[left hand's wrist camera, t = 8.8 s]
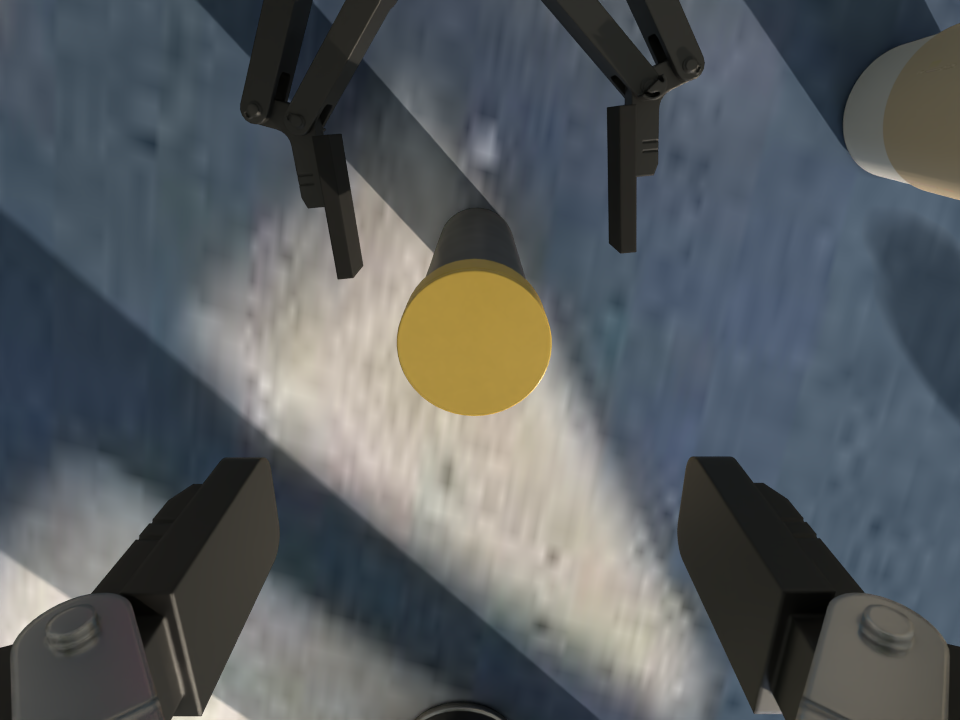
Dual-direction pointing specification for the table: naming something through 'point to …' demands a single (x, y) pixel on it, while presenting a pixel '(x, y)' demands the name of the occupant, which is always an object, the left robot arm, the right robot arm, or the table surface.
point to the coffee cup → (910, 114)
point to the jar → (476, 240)
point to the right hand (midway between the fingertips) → (485, 261)
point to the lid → (474, 338)
